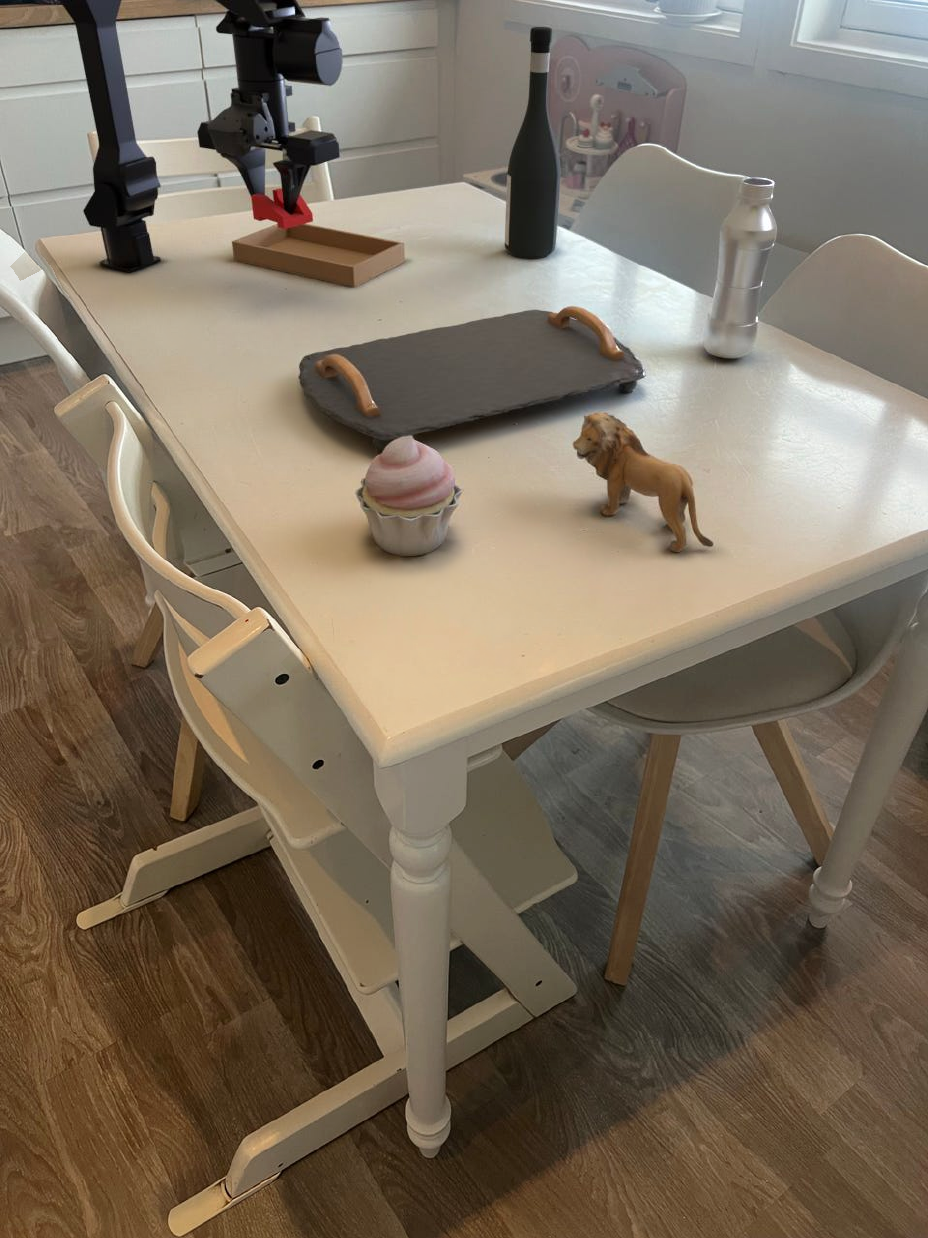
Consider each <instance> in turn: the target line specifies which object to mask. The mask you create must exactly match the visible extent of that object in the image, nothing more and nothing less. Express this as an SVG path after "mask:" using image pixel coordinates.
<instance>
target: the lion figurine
mask: <svg viewBox="0 0 928 1238" xmlns="http://www.w3.org/2000/svg"><path fill="white" fill-rule="evenodd" d="M583 419H584V420H583V424H582V426H581V432H580V435H579V437H578V438H577V439H575V440H574V441H573V442H572V447H573V449H574V450H575V451H576V457H577V458H578V459H579V460H584V459H585V461H586V462H587V464H589V465H590V466H592V467H593V468H595V474H596V475H597V476H598V477H599V478H601V479H603V480H604V481H606V490H607V497H608V500H609V501H608V503H609V505H604V506H602V507H601V513H602V515H603V516H609V517H610V516H613V515H615V514H617V513H618V511H619V509H620V504H626V503H627V502H629V500H630V495H631V491H632V490H633V491H634V492H636V493H638V494H640V495H641V496H644V497H649V498H650V497H651V498H653V497H654V498H655V497H656V498H657V497H658V498H657V499H658V500H657V501H658V505H659V509H660V512H661V514H662V518H663V519H664V521H665V522H666V524H667V526H668V527H669V528H670V529H671V531H672V533H673V534H674V536H675V540H674V539H673V540H671V541H670V544H669V549H670V550H671V551H672V552H675V553H679V552H682V551H683V550H684V549H685V547H686V545H687V533H686V527H685V526H684V523H685V522H686V519H687V518H686V513H685V512H686V508H687V507H688V514H689V519H690V524H691V529H692V531H693V534H694V535H695V537H696V539H697V540H698V542H699V543H700V544H701V545H702V546H703V547H708V548H712V547H714V542H713V541H712V540H710V539H709V538H708V537H707V536H705V535H704V534H702V533H701V532H700V529H699V525H698V520H697V513H696V512H697V509H696V498H695V494H694V489H693V488H694V487H693V486H694V483H693V482H694V481H693V479H692V477H691V475H690V473H689V472H688V471H687V470H686V468H685V467H683V466H681V465H680V464H676V463H672V462H667V461H665V460H662V459H660V458H657V457H655V456H653V455H652V454H650V453H648V452H647V451H646V450H645V449H644V447H643V445H642V443H641V441H640V438H639V437H638V436H637V434H635V432H634V430H632V429H630V428H629V427H628V425H627V424H626V423H624V422H622V421H621V419H619V418H616V417H615V416H614V414H613V415H611V414H609V413H607V412H603V411H598V412H597V411H596V412H593V413H588V414H585V415H583Z"/></svg>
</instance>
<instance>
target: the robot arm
mask: <svg viewBox="0 0 928 1238" xmlns="http://www.w3.org/2000/svg"><path fill="white" fill-rule="evenodd" d="M58 1H59V2H60V4H61V6H63V8H64V10H65V11H66V12H67V14H68V15H69V17H70V18H71V19H72V21H73V23H74V25H75V29H76V35H77V39H78V45H79V50H80V54H81V60H82V64H83V70H84V75H85V80H86V85H87V90H88V95H89V99H90V100H89V101H90V105H91V110H92V116H93V120H94V125H95V131H96V136H97V141H98V148H97V150H96V151H97V152H96V154H95V155H96V156H95V158H94V162H93V166H92V176H93V177H92V178H93V189H94V191H93V193H92V195H91V196H90V198H89V200H88V201H87V203H86V205H85V206H84V208H83V210H82V212H83V214H84V216H85V219H86V221H87V223H88V225H89V226H90V227H94V228H95V227H96V228H100V232H101V237H102V242H103V246H104V251H105V256H106V258H105V259H102V260H100V261H99V266H101V267H105V268H111V269H113V270H117V271H122V272H126V273H133V272H136V271H139V270H142V269H144V268H147V267H149V266H151V265H154V264H157V263H160V262H161V261H162V259H161V257H160V256H157V255H154V253H153V252H154V251H153V247H152V242H151V235H150V233H149V231H148V227H147V221H146V220H144V219H145V218H148V217H152V216H154V215H155V204H156V201H157V200H158V198H159V188H161V187H162V184H161V183H160V180H159V177H158V173H157V161H156V159H155V157H154V156H147V155H146V154H145V153H144V151H143V150H142V148H141V147H140V146H139V144H138V142H137V139H136V133H135V127H134V121H133V116H132V110H131V104H130V99H129V98H130V97H129V92H128V87H127V80H126V75H125V70H124V64H123V58H122V54H121V47H120V41H119V36H118V30H117V19H118V14H119V11H120V7H121V4H122V0H58ZM214 1H215V2H217V3H218V4H219V5H220V6H222V7H224V8H225V10H227V11H226V13H225V16H224V17H223V19H221V21H220V22H219V23H218V24H217V25H216V27H215V31H216V33H217V34H223V35H224V34H225V35H231V36H232V44H233V53H234V55H233V56H234V61H235V62H234V63H235V72H236V80H237V81H236V82H237V87H234V88H231V89H230V90H231V92H230V106H229V107H227V108H225V109H223V110H222V111H221V112H220V113H218V115H217V116H215V117H214V118H213V119H211V120H207V121H201V122H200V124H199V127H198V129H197V132H196V133H197V140H198V146H199V148H200V149H207V150H212V151H216V153H217V154H219V155H220V157H222V158H223V159H226V160H228V162H230V163H231V164H232V165H233V166H235V167H236V169H237V170H238V172H239V174H240V176H241V178H242V180H243V182H244V184H245V186H246V189H247V191H248V193H249V195H250V197H251V195H254V194H258V193H260V194H263V195H266V149H267V150H272V151H279V152H282V159H281V160H277V161H274V162H272V166H273V167H274V168H275V169H276V170H277V172H278V173H279V175H280V184H281V189H282V194H283V203H284V208H285V211H286V212H287V213H289V214H290V215H292V214H293V212H294V209H295V206H296V202H297V201H298V198H299V195H301V191H302V188H303V185H304V183H305V180H306V178H307V176H308V173H309V171H310V169H311V167H314V166H318V165H321V164H324V163H327V162H330V161H333V160H336V159H339V158H340V157H341V156H340V142H339V140H338V138H337V137H336V136H335V134H334V133H333V132H325V131H320V130H312V129H311V130H308V131H307V130H306V131H303V132H300V133H297V134H293V135H290V134H291V133H295V132H296V131H297V130H296V129H297V128H296V122H294V121H289V114H288V113H289V112H288V101H287V97H290V96H294V95H293V94H294V93H293V86H292V85H288V84H287V85H286V82H292V83H301V84H308V85H309V84H310V85H319V86H326V87H332V86H333V85H335V84H336V83H337V81H338V80H339V79H340V76H341V73H342V68H343V59H344V58H343V56H344V55H343V49H342V48H341V46H340V41H339V38H338V36H337V35H336V34H335V32H334V31H333V30H332V29H331V19H330V18H329V17H322V16H321V17H315V18H308V17H306V14H305V13H304V10H303V9H302V8H301V6H300V4H299V3H298V1H297V0H214Z"/></svg>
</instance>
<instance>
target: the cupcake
mask: <svg viewBox="0 0 928 1238" xmlns="http://www.w3.org/2000/svg"><path fill="white" fill-rule="evenodd" d="M360 484H361V487H359V488H357V489H356V491H355V492H354V494H355V496H356V498H357V500H358V502H359V504H360V505H359V506H360V508H361V510H362V511H363V513H364V514H365V516H366V518H367V521H368V525H369V529H370V530H371V533H372V537H373V540H374V541H375V543H376V545H378V547H380V549H382V550H383V551H385V552H387V553H389V554H392V555H397V556H400V557H415V556H423V555H426V554H429V553H431V552H433V551H435V550H437V549H438V548H439V547H440V546H441V545H442V544H443V542H444V541H445V539H446V537H447V534H448V530H449V525H450V520H451V517H452V515H453V513H454V512H455V510H456V509H457V507H458V506H459V499H460V497H461V495H462V494H463V492H464V490H465V489H464V488H463V487H461V486H460V485H457V484H456V475H455V471H454V470H453V468H452V467H451V466H450V464H448V463H447V462H446V461H445V460H444V459H443V458H442V456H441V454H440V453H439V452H438V451H437V450H436V449H434V448H433V447H431V446H428V445H427V444H424V443H422V442H420V441H417V440H415V439H414V436H413V435H412V436H405V437H404V436H403V437H401V438H398V439H395V440H394V441H392V442H391V443H389V444H388V445H387V446H386V447H385V449H384V450H383V452H382V454H378V455H376V456H375V457H374V458H373V460H372V461H371V463H370V464H369V467H367V471H366V473H365V476H364V478H361V480H360Z"/></svg>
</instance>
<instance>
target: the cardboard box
mask: <svg viewBox="0 0 928 1238" xmlns="http://www.w3.org/2000/svg"><path fill="white" fill-rule="evenodd" d="M231 247H232V253H233V255H232V256H233V261H235V262H238V263H239V262H240V263H244V264H247V265H248V264H249V265H252V266H258V267H262V268H266V269H272V270H276V271H279V272H284V273H288V274H294V275H298V276H302V277H306V278H311V279H316V280H320V281H324V282H325V281H326V282H329V283H334V284H339V285H342V286H346V287H351V288H355V287H358V286H359V285H361V284H364V283H366V282H368V281H370V280H372V279H373V278H376V277H377V276H380V275H381V274H384V273H385V272H388V271H390V270H392V269H394V268H396V267H397V266H399V265H401V264H403V263H405V262H406V258H405V254H406V253H405V242H401V241H397V240H390V239H386V238H381V237H376V236H370V235H365V234H359V233H355V232H351V231H345V230H340V229H335V228H331V227H325V226H319V225H314V224H310V223H306V224H302V225H298V226H294V227H290V228H286V229H282V228H279V227H278V224H277V223H276V224H273V225H271V226H268V227H265V228H263V229H261V230H258V231H255V232H253V233H250V234H247V235H245V236H243V237H240V238H238V239H235V240H232V241H231Z"/></svg>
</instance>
